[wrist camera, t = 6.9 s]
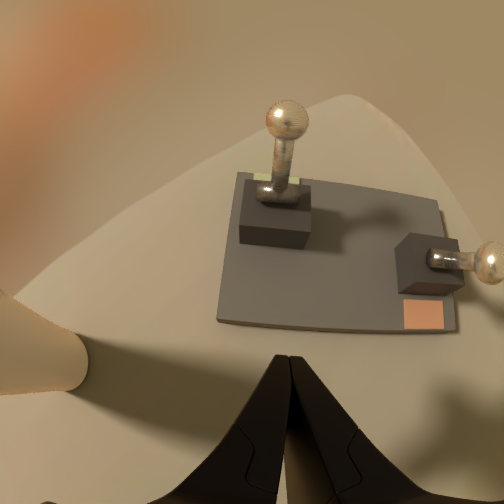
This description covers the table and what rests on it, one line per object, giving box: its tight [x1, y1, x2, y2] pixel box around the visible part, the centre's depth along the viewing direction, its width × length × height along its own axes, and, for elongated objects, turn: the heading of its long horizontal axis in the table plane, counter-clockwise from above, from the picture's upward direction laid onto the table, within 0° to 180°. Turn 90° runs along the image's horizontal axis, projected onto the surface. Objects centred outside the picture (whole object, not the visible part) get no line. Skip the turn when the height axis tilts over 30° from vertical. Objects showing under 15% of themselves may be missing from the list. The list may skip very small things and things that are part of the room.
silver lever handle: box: [426, 241, 504, 285], centre depth 16 cm, size 3×3×8 cm
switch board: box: [216, 172, 465, 334], centre depth 23 cm, size 13×20×4 cm, turn 84°
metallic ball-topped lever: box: [256, 100, 309, 205], centre depth 19 cm, size 3×3×8 cm
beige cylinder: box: [0, 289, 88, 395], centre depth 14 cm, size 7×7×15 cm
